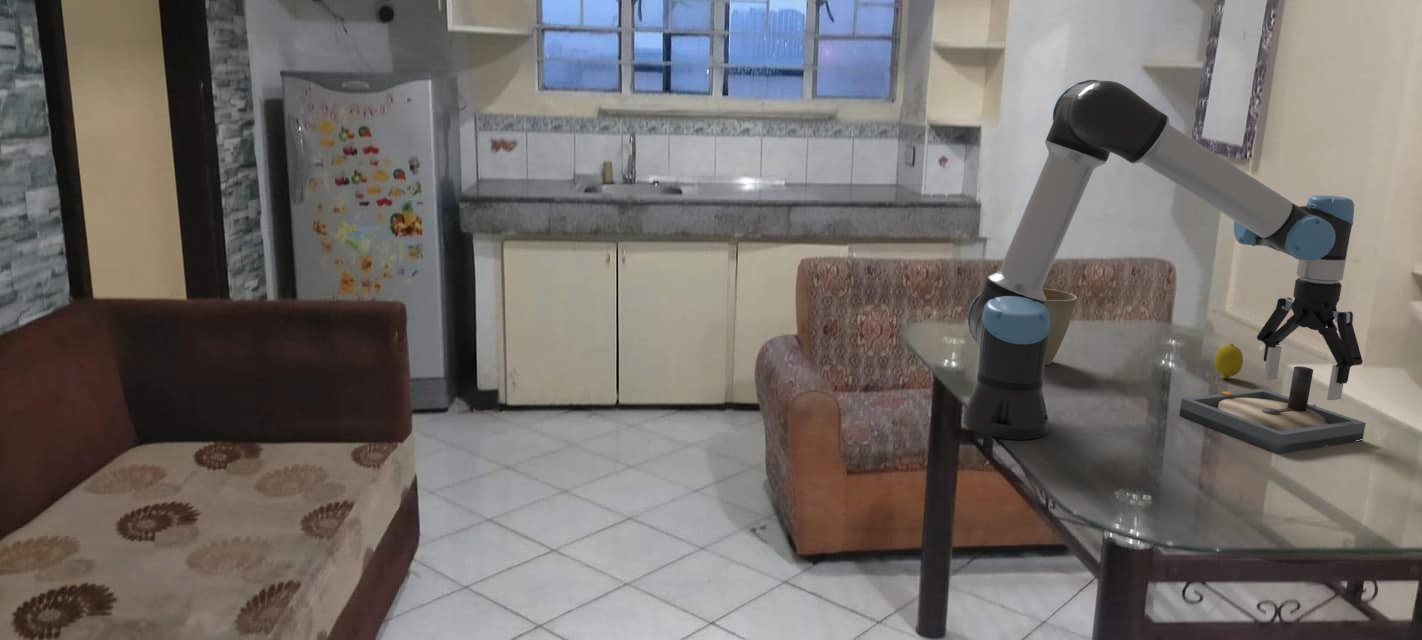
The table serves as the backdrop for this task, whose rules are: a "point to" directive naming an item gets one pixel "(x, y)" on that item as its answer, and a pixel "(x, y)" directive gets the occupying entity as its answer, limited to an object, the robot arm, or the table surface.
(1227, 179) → the robot arm
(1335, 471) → the table surface
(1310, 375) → the dial
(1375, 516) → the table surface
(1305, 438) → the dial frame
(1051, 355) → the plant pot
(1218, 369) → the lemon
